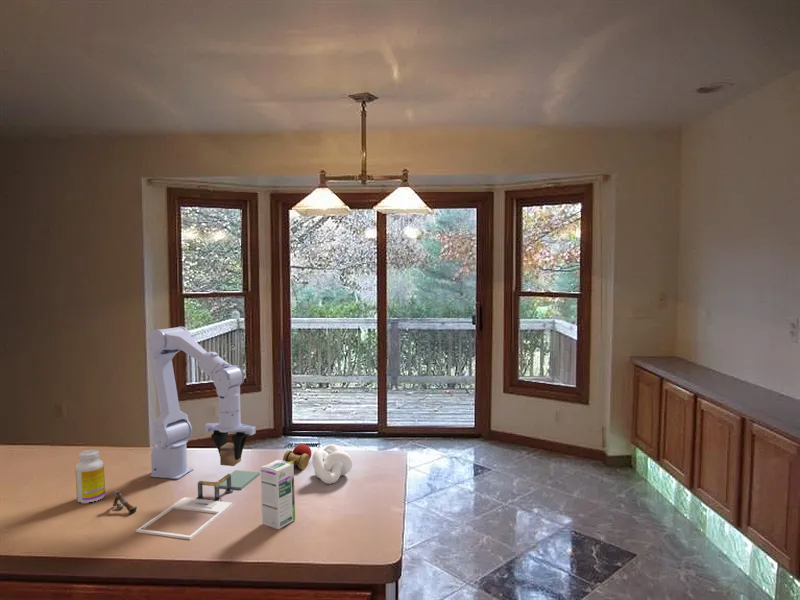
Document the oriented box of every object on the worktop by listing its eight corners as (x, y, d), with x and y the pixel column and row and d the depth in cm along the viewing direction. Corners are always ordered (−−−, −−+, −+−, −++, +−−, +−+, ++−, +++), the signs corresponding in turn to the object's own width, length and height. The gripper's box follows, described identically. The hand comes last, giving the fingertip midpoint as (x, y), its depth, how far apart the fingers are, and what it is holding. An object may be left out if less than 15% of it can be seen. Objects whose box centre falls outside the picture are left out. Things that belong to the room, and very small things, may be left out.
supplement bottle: (110, 496, 145) (109, 450, 144) (87, 506, 139) (85, 458, 138) (94, 491, 148) (92, 446, 147) (71, 501, 142) (68, 454, 141)
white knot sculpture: (353, 470, 163) (353, 441, 162) (351, 486, 151) (350, 455, 150) (316, 470, 163) (316, 442, 162) (311, 487, 151) (310, 456, 150)
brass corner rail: (194, 500, 142) (194, 481, 142) (211, 488, 150) (211, 469, 150) (218, 503, 141) (218, 483, 140) (234, 490, 148) (233, 472, 148)
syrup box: (278, 530, 126) (277, 470, 125) (261, 523, 130) (259, 465, 128) (295, 520, 131) (294, 463, 130) (278, 514, 134) (277, 458, 133)
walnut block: (220, 464, 148) (219, 447, 147) (228, 459, 152) (227, 442, 151) (233, 466, 147) (233, 448, 146) (241, 460, 151) (240, 443, 150)
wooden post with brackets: (115, 501, 140) (118, 487, 139) (133, 520, 137) (137, 506, 136) (108, 504, 138) (112, 490, 137) (126, 523, 135) (130, 509, 134)
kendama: (293, 487, 154) (319, 457, 171) (288, 467, 153) (314, 438, 170) (270, 488, 156) (297, 458, 173) (265, 469, 155) (293, 440, 172)
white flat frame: (232, 502, 140) (190, 536, 122) (232, 506, 140) (190, 541, 122) (184, 496, 143) (136, 529, 126) (184, 500, 143) (136, 533, 126)
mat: (215, 487, 151) (215, 484, 151) (235, 472, 162) (235, 470, 161) (241, 489, 149) (241, 487, 149) (259, 474, 160) (259, 472, 160)
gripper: (197, 412, 146) (199, 460, 147) (246, 415, 143) (247, 465, 144) (212, 405, 153) (213, 451, 154) (258, 408, 149) (259, 456, 150)
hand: (230, 457), depth 149 cm, fingers closed on walnut block, 4 cm apart
